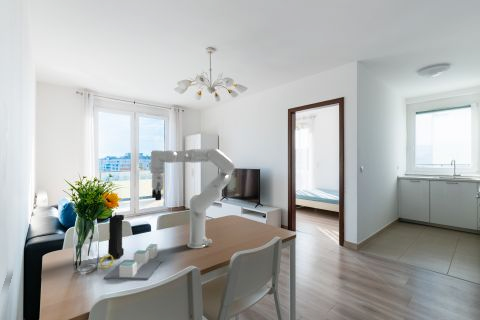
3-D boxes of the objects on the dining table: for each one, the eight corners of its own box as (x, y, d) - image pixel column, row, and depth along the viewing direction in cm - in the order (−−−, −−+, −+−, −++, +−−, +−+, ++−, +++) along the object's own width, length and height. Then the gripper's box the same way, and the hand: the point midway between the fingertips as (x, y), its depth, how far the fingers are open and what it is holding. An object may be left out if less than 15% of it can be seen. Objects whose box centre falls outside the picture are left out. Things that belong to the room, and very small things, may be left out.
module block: (157, 254, 130) (157, 243, 130) (153, 259, 124) (153, 247, 124) (150, 254, 130) (150, 243, 130) (145, 259, 124) (145, 247, 124)
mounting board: (161, 262, 121) (162, 249, 121) (147, 279, 103) (147, 265, 103) (124, 261, 121) (124, 249, 121) (103, 279, 103) (103, 265, 103)
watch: (102, 270, 112) (101, 258, 112) (99, 268, 114) (98, 256, 114) (114, 264, 117) (113, 253, 117) (112, 263, 119) (111, 252, 118)
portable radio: (113, 253, 131) (113, 210, 131) (124, 253, 132) (124, 210, 132) (106, 259, 123) (107, 213, 123) (118, 259, 124) (118, 213, 124)
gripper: (167, 171, 133) (166, 200, 133) (160, 170, 148) (159, 196, 148) (153, 171, 129) (152, 201, 129) (148, 170, 144) (147, 197, 144)
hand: (156, 198), depth 139 cm, fingers open, 9 cm apart
